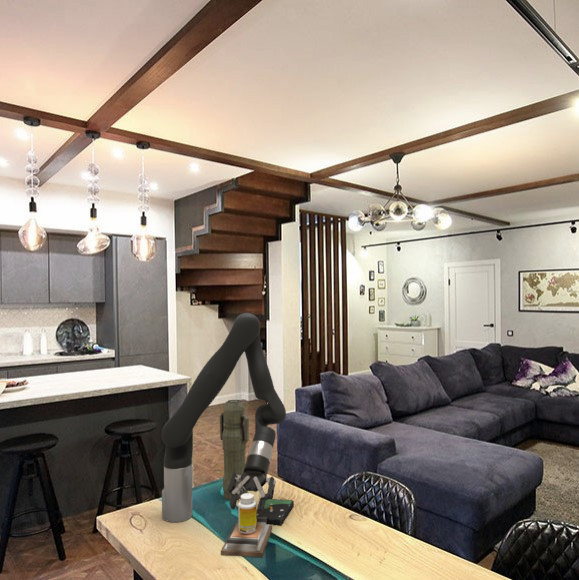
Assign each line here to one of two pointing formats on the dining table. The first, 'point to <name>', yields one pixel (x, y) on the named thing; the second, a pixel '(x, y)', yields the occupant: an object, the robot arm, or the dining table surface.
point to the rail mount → (248, 540)
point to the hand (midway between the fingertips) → (245, 510)
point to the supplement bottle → (247, 514)
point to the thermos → (233, 442)
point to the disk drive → (276, 511)
